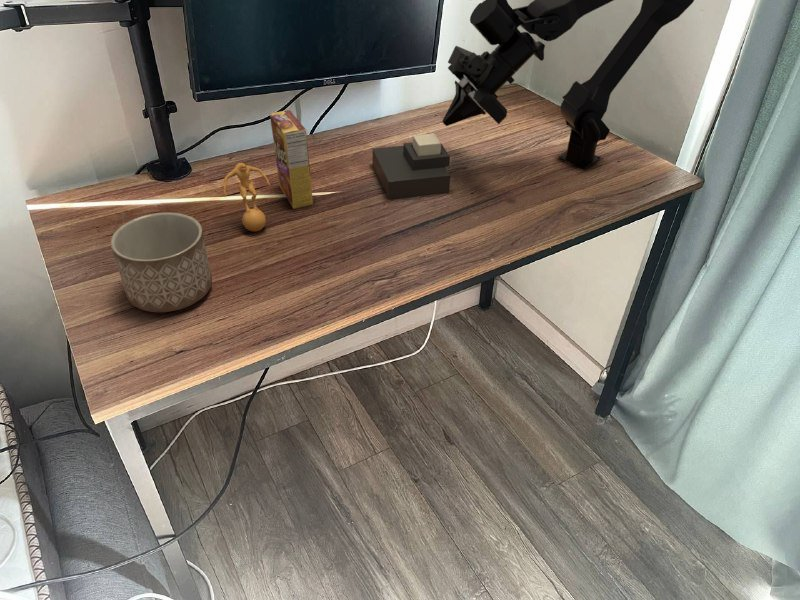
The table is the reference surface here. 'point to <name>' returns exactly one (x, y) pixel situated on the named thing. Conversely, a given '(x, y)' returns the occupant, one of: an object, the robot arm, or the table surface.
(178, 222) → the planter
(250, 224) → the figure on ball
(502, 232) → the table surface
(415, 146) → the cream block
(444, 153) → the stepped base
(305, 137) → the candy box
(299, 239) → the table surface
